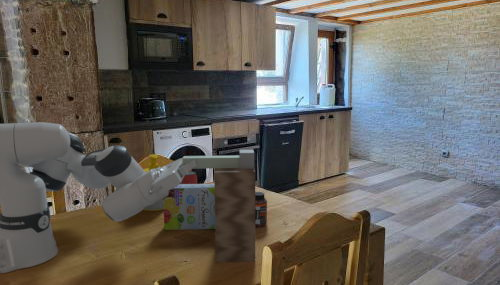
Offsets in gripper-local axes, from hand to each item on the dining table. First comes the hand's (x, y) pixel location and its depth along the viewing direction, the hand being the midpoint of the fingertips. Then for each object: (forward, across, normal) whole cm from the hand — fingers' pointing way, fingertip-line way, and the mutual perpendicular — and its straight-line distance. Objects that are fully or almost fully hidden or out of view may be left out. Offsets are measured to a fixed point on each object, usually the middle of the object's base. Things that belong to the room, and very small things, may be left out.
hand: (196, 160), depth 102 cm
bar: (+4, 0, +5) cm, 7 cm away
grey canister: (-33, +42, +13) cm, 56 cm away
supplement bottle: (+2, +21, +34) cm, 40 cm away
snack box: (-17, +20, +23) cm, 35 cm away
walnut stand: (-5, 0, +30) cm, 30 cm away
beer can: (-22, +49, +20) cm, 57 cm away
